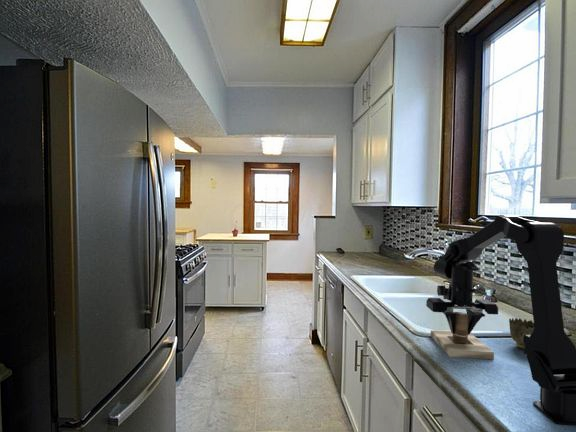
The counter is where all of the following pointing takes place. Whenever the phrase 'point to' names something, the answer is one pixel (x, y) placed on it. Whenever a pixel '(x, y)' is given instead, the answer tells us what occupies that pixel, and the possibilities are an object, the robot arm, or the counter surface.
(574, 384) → the robot arm
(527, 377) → the counter surface
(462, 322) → the peg
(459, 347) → the board
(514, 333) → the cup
